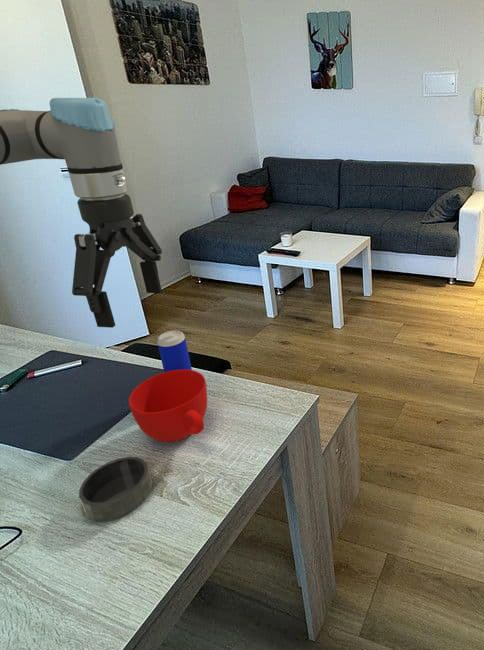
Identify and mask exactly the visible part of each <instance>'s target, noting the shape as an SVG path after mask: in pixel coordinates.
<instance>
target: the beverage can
mask: <svg viewBox="0 0 484 650" xmlns="http://www.w3.org/2000/svg"><path fill="white" fill-rule="evenodd" d="M157 347H158V352H159V356H160V360H161V364H162V368H163V373H164V372H168V371H172V370H182V369H186V370H193V369H192V364H191V359H190V355H189V349H188V344H187V339H186V336H185V334H184V333H183V332H182V331H181V330H175V329H174V330H168V331H165V332H163V333H161V334H160V335H158V337H157Z"/></svg>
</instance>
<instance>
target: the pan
mask: <svg viewBox="0 0 484 650" xmlns="http://www.w3.org/2000/svg"><path fill="white" fill-rule="evenodd" d="M152 489H153V480H152V476H151V473H150V468H149V465H148V463H147V462H146V461H145V460H144V459H143V458H141V457H138V456H125V457H119V458H116V459H114V460H110V461H108V462H106V463H104V464H103V465H101V466H98V467H97V468H96V469H95V470H94V471H92V472H91V473H90V474H88V476H87V477H86V478H85V479H84V480H83V482H82V483H81V485H80V487H79V490H78V498H79V500H80V503H81V506H82V508H83V512H84V513H85V516H86V517H87V518H88V519H89V520H92V521H94V522H99V523H105V522H106V523H107V522H111V521H112V522H113V521H115V520H118V519H120V518H122V517H125V516H127V515H129V514H130V513H132V512H133V511H135V510H136V509H138V508H139V507H140V506H141V505H143V503H145V501H146V500H147V498H148V497H149V495H150V493H151V491H152Z"/></svg>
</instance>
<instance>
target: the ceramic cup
mask: <svg viewBox="0 0 484 650" xmlns="http://www.w3.org/2000/svg"><path fill="white" fill-rule="evenodd" d="M128 405H129V409H130V412H131V414H132V417H133V418H134V420H135V423H136V424H137V426H138V427H139V429H140V430H141V431H142V432H143V434H145V435H146V436H148V437H150V439H153V440H156V441H158V442H163V443H174V442H178V441H182V440H184V439H186V438H188V437H189V436H190V435H198V434H201V432H202V431H203V430H204V428H205V423H204V418H205V415H206V411H207V407H208V390H207V381H206V379H205V376H204V375H203V374H202V373H201V372H199V371H196V370H193V369H192V370H186V369H182V370H172V371H168V372H164V371H163V372H161V373H158V374H155V375H154V376H150V377H149V378H147V379H146V380H144V381H143V382H141V383H140V384H138V385H137V386H136V387H135V388H134V389H133V391H132V392H130V395H129V398H128Z"/></svg>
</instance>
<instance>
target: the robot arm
mask: <svg viewBox="0 0 484 650" xmlns="http://www.w3.org/2000/svg"><path fill="white" fill-rule="evenodd" d="M49 107H50V110H32V109H31V110H29V109H28V110H27V109H18V108H16V109H15V108H10V109H0V165H1V166H2V165H9V164H13V163H14V164H15V163H21V162H26V161H32V160H33V161H35V160H64V161H65V164H66V168H67V172H68V174H69V175H68V176H69V179H70V183H71V186H72V190H73V194H74V196H75V197H77V198H79V199H78V200H77V202H76V203H77V204H76V205H77V207H78V211H79V214H80V218H81V220H82V221H83V222H85V223H86V224H87V225H88V227H89V232H87V233H76V234H74V237H73V240H74V245H75V255H74V256H75V258H74V265H73V266H74V268H73V269H74V270H73V277H72V286H71V287H72V288H71V294H72V295H73V296H77V297H78V296H79V297H80V296H81V297H85V298H86V301H87V304H88V307H89V310H90V312H91V313H93V316H94V320H95V323H96V327H97V328H111V329H112V328H114V327H116V321H115V318H114V315H113V311H112V308H111V304H110V300H109V298H108V294H107V293H108V292H107V291H106V290H105V291H103V287H104V285H105V281H106V276H107V273H108V270H109V265H110V262H111V259H112V257H114V256H115V254H116V252H118V251H119V250H121V249H122V248H128V249H129V250H130V251H131V252H133V254H135V255H136V256H137V257H138V258H140V259H141V260H142V261H140V262H139V266H140V270H141V274H142V279H143V281H144V282H143V283H144V287H145V291H146V294H161V293H162V292H163V291H162V286H161V282H160V277H159V269H158V265H157V262H160V261H161V260H162V257H161V255H162V253H163V249H162V248H161V246H160V245H159V244H158V242H157V240H156V239H155V237H154V235H153V234H152V233H151V231H150V229H149V228H148V226H147V225H146V222H145V218H144V215H143V214H142V213H135V211H134V208H133V204H132V199H131V196H130V195H129V194H127V192H129V188H128V183H127V179H126V176H125V171H124V168H123V167H124V165H123V163H122V160H121V156H120V155H121V154H120V150H119V145H118V140H117V135H116V130H115V129H116V126H115V124H114V122H113V118H112V115H111V113H110V109H109V106H108V104H107V103H106V101H104V100H103V98H98V97H52V98H51V99H50V100H49Z"/></svg>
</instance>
